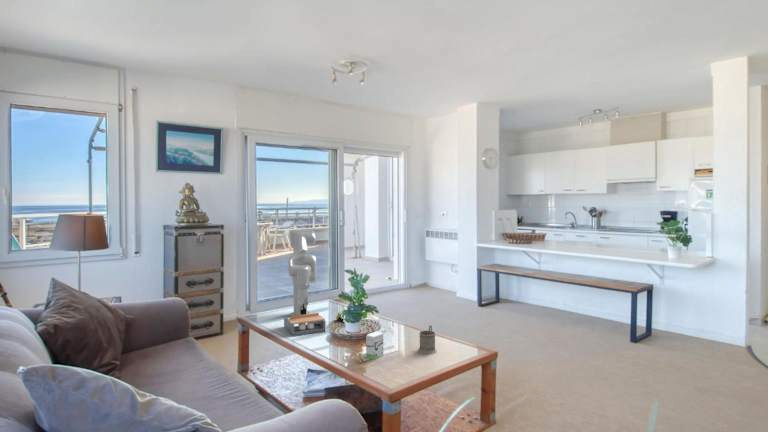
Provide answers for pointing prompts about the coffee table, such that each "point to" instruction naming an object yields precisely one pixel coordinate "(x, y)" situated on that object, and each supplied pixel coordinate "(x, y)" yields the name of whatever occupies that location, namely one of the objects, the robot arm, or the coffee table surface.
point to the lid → (305, 318)
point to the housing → (310, 328)
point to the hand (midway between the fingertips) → (303, 315)
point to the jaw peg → (302, 327)
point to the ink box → (374, 345)
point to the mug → (427, 342)
